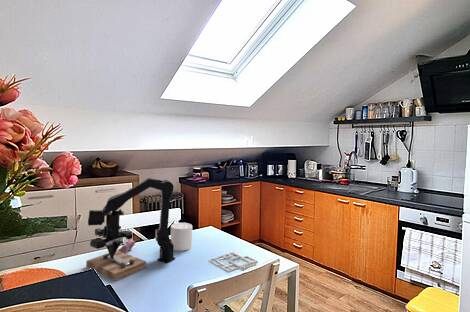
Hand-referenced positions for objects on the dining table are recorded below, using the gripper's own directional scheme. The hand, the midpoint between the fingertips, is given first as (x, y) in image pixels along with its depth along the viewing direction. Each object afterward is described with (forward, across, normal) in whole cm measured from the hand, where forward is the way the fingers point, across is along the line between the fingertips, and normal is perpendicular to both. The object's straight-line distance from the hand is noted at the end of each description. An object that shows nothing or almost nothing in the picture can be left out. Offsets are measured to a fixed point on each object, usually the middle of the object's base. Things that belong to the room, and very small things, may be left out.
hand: (111, 256), depth 141 cm
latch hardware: (+1, 0, +4) cm, 4 cm away
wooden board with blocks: (+4, 0, +3) cm, 5 cm away
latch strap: (+1, 0, +5) cm, 5 cm away
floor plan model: (+4, -41, +45) cm, 61 cm away
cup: (+4, -37, +9) cm, 39 cm away
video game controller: (+5, -15, -9) cm, 18 cm away
